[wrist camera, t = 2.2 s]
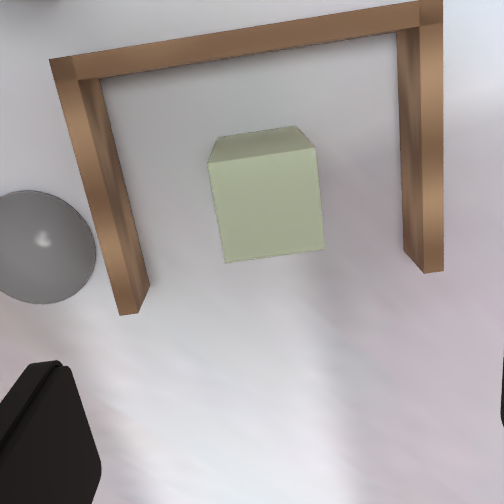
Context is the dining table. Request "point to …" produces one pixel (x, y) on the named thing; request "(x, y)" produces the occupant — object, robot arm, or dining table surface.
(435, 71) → the wooden u-shaped frame
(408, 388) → the dining table surface
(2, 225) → the slate coaster
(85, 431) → the robot arm
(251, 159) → the sage block
